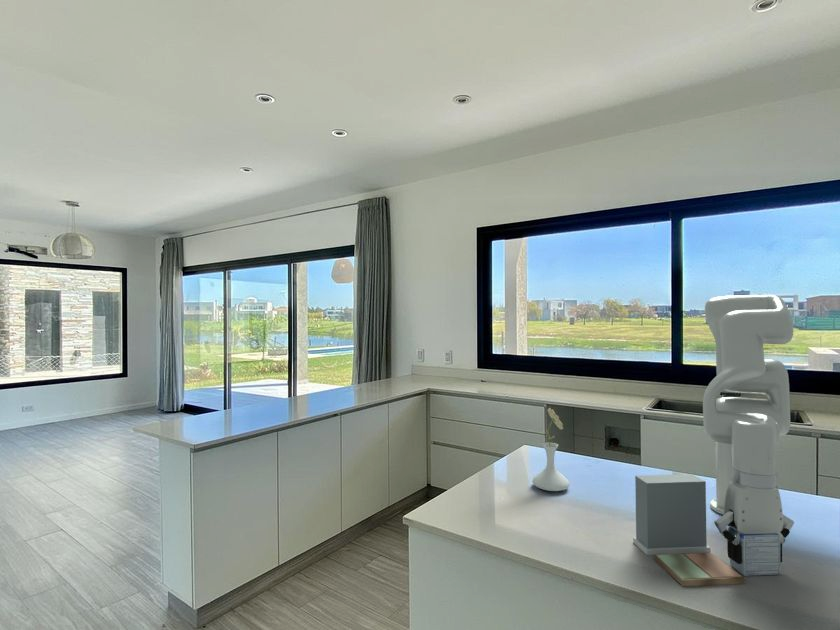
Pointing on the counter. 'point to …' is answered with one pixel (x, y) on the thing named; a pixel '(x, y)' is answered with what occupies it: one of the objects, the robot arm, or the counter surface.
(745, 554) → the medicine box
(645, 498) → the cabinet
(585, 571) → the counter surface
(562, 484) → the flower in vase
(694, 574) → the board
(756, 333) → the robot arm
